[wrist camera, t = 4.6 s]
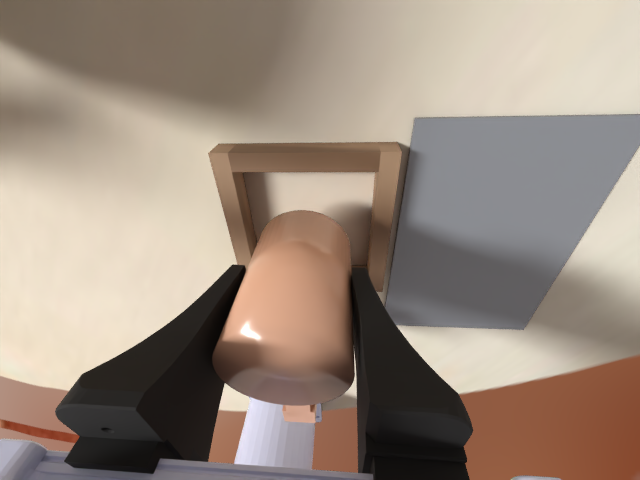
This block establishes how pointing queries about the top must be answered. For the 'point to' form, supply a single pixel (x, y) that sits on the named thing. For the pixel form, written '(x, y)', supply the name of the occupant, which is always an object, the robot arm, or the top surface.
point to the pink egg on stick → (292, 318)
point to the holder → (308, 158)
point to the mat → (498, 212)
